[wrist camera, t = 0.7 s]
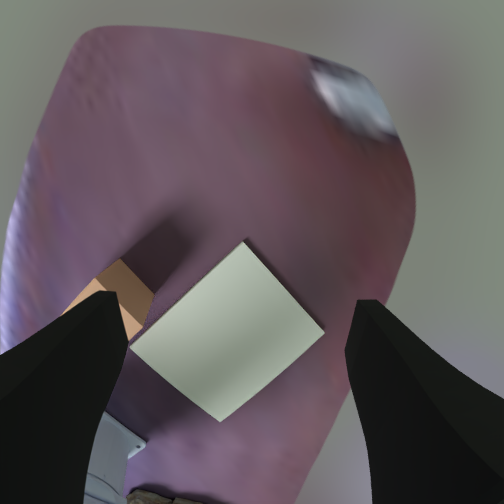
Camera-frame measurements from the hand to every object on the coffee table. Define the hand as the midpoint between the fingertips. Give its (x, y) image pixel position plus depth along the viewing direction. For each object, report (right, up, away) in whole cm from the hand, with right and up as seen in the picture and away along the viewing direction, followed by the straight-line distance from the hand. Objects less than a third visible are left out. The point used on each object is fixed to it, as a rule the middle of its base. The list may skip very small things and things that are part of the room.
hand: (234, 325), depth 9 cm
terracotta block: (-11, -1, +17) cm, 21 cm away
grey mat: (-2, -6, +20) cm, 21 cm away
